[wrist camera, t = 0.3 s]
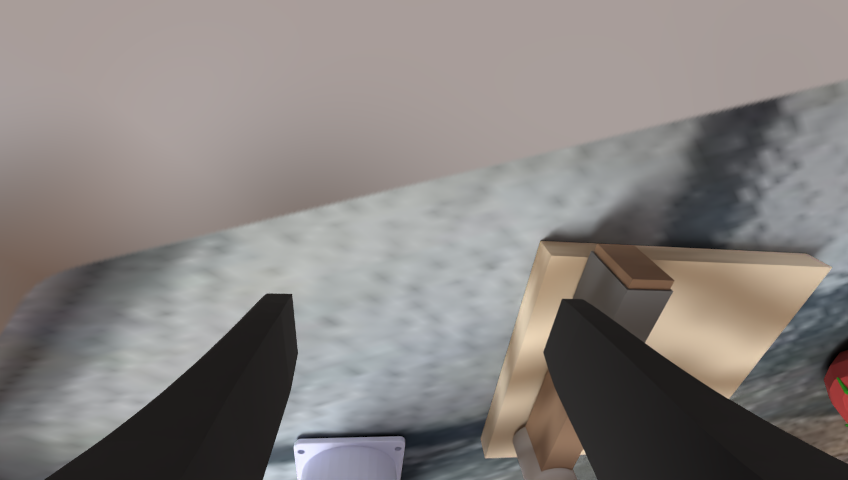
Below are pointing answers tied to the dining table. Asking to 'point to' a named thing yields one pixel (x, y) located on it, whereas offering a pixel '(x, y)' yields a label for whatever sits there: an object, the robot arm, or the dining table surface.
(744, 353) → the board
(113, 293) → the dining table surface
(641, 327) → the lever
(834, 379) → the red round piece
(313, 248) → the dining table surface
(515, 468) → the dining table surface
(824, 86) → the dining table surface
